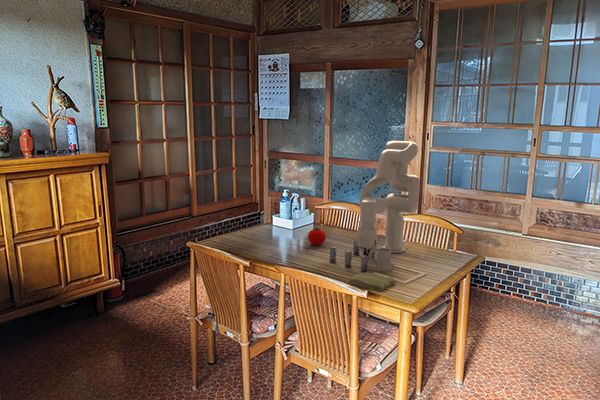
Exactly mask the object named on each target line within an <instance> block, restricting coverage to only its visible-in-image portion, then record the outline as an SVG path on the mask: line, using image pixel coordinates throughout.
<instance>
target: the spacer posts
mask: <svg viewBox="0 0 600 400" xmlns="http://www.w3.org/2000/svg"><path fill="white" fill-rule="evenodd" d="M385 248H388V249H390V250H391V247H385ZM352 250H353V253H352ZM352 250H345V251H344V268H345V269H351V268H352V257H353V256H359V255H360V251H361V248H359V247H358V245H357V244H356V238H355V239H353V249H352ZM375 254H376V251H374V252H373V254H372V258H373V259H374V260H375V257H376V256H375ZM352 255H353V256H352ZM329 263H330V264H335V263H337V246H335V245H331V246H330V247H329ZM368 264H369V260H368V255H363V254H361V259H360V272H361V273H369V271H368V269H369V267H368V266H369V265H368ZM361 273H360V274H361Z"/></svg>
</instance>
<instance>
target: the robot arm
mask: <svg viewBox="0 0 600 400" xmlns="http://www.w3.org/2000/svg"><path fill="white" fill-rule="evenodd" d="M418 152H419V147H418V143H416V142H414V141H408V140H407V141H406V140H404V141H403V140H391V141H387V142H386V145H385V149H384V150H382V151H381V153H380V156H379V159H378V163H377V167H376V169H375V174H374V176H373V177H372V178H371V179H370V180H369V181H367V182H366V184H365V185H364V186H363V188H362V190H361V194H360V197H359V201H358V207H359V209H360V210H359V211H360V215H359V216H360V217H359V221H358V223H359V226H358V227H357V232H356V238H355V239H356V244H357V245H358V247H359V248H360V251H361V253H362V255H369V252H370V250H371V249H372V248H373V246H374V245H375V249H377V246H378V231H377V228H376V218H377V217H376V216H377V214H382V213H385V215H386V216H385V236H384V237H385V238H384V245H382V246H381V248H385V247H391V254H392V253H393V254H394V253H395V254H396V253H397V254H398V253H404V252H406V247H405V246H404V245H405V244H407V240H405V239H404V223H405V222H404V221H405V219H404V216H403V214H402V213H407V214H414V213H416V211H417V209H418V206H419V197H420V188H421V181H420V178H419V177H418V176H417V175H414V174H408V168H409V164H410V163H411V162H412V161H413V160H414V159H415V158H416V156H417V155H418ZM388 183H389V187H390V189H391V190H392V191H396V192H403V193H393V192H391V193H389V194H387V195H386V197H385V198H384V197H383V198H382V197H376V196H370V195H371V193H372V192H373V190H374V189H376V188H378V187H380V186H383V185H386V184H388ZM404 193H408V194H404ZM368 259H369V257H368Z"/></svg>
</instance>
